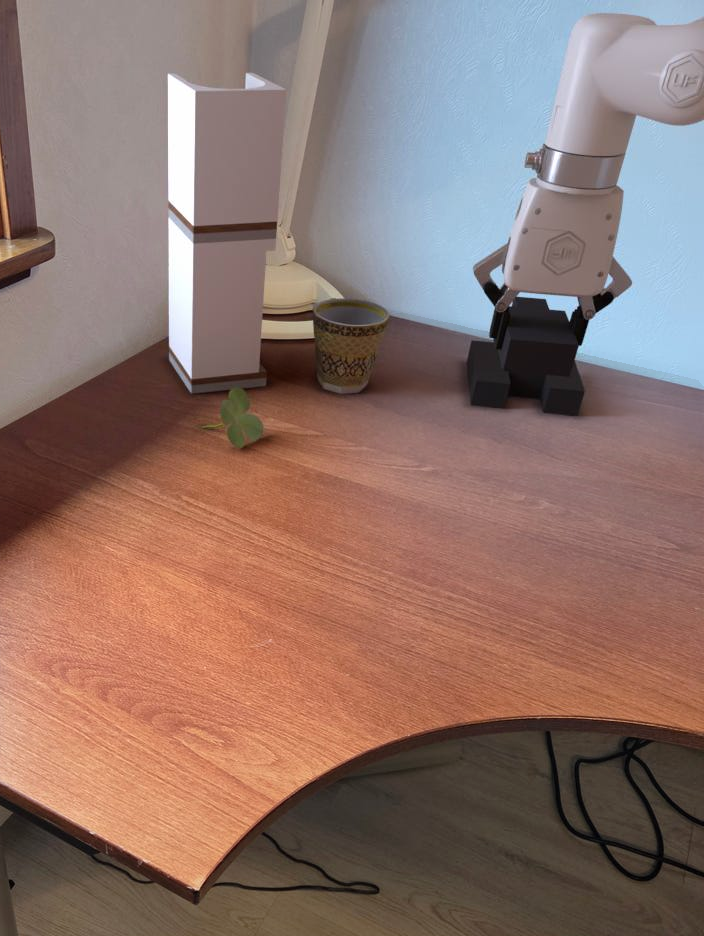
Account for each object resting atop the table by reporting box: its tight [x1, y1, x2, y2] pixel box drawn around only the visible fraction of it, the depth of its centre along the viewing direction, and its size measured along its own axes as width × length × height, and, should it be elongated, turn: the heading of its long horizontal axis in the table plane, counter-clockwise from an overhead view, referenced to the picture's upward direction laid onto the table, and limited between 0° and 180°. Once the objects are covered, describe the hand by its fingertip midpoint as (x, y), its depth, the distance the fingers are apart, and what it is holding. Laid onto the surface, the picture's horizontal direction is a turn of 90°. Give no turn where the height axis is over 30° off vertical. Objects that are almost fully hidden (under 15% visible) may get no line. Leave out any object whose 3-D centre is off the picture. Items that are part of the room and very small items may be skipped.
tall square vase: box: [167, 72, 287, 395], centre depth 114 cm, size 11×11×35 cm
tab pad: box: [498, 296, 580, 377], centre depth 99 cm, size 7×13×4 cm, turn 172°
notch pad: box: [465, 340, 586, 417], centre depth 124 cm, size 14×14×4 cm
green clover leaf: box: [201, 387, 265, 449], centre depth 111 cm, size 7×8×6 cm
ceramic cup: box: [312, 297, 390, 395], centre depth 122 cm, size 13×10×10 cm
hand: (532, 346), depth 98 cm, fingers closed on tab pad, 7 cm apart
